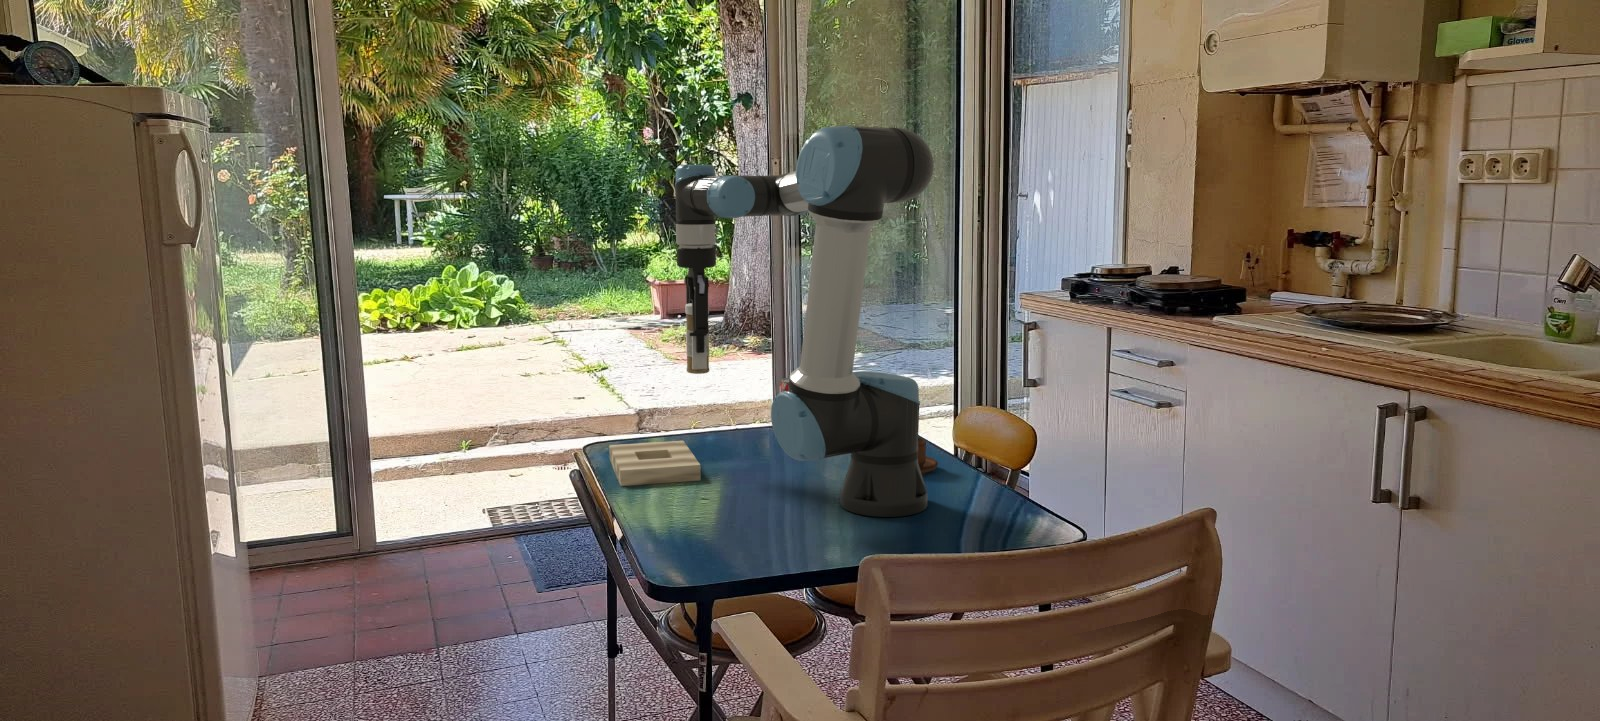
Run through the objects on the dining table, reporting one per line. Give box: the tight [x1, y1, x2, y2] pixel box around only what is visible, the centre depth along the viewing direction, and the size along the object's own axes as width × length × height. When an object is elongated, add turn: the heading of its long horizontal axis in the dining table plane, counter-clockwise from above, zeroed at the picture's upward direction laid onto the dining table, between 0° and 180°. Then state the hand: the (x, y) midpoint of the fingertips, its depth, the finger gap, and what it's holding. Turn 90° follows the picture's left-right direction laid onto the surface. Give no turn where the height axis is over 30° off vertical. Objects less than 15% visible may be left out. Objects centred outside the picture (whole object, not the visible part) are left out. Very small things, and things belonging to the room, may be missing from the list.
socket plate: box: [608, 440, 702, 487], centre depth 216 cm, size 20×15×3 cm
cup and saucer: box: [918, 437, 939, 475], centre depth 215 cm, size 12×12×6 cm
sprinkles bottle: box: [684, 303, 710, 375], centre depth 215 cm, size 5×5×14 cm
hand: (697, 366), depth 216 cm, fingers closed on sprinkles bottle, 4 cm apart
